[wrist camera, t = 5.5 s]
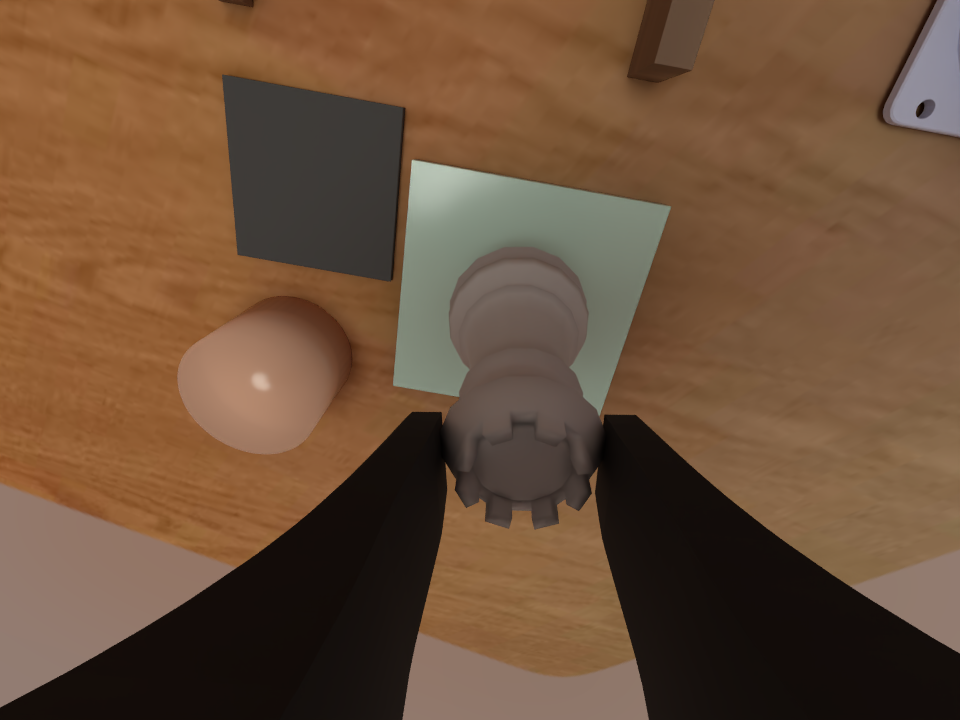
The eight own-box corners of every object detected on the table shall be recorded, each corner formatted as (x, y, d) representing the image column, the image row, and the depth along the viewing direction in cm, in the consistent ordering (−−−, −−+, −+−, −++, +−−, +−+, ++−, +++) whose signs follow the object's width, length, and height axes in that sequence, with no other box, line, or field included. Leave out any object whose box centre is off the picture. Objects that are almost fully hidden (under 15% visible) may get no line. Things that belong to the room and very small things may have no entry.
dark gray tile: (405, 108, 15) (403, 107, 15) (392, 279, 18) (390, 281, 17) (227, 75, 15) (222, 74, 15) (242, 253, 18) (237, 254, 17)
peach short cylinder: (354, 307, 18) (316, 348, 15) (350, 407, 21) (317, 463, 17) (234, 286, 18) (167, 322, 15) (243, 389, 21) (187, 442, 17)
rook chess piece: (532, 386, 16) (549, 590, 9) (427, 325, 15) (358, 501, 8) (613, 290, 14) (709, 458, 7) (498, 212, 13) (484, 323, 7)
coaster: (665, 204, 16) (671, 206, 15) (595, 413, 20) (597, 420, 19) (415, 158, 16) (411, 160, 15) (396, 378, 20) (392, 385, 19)
